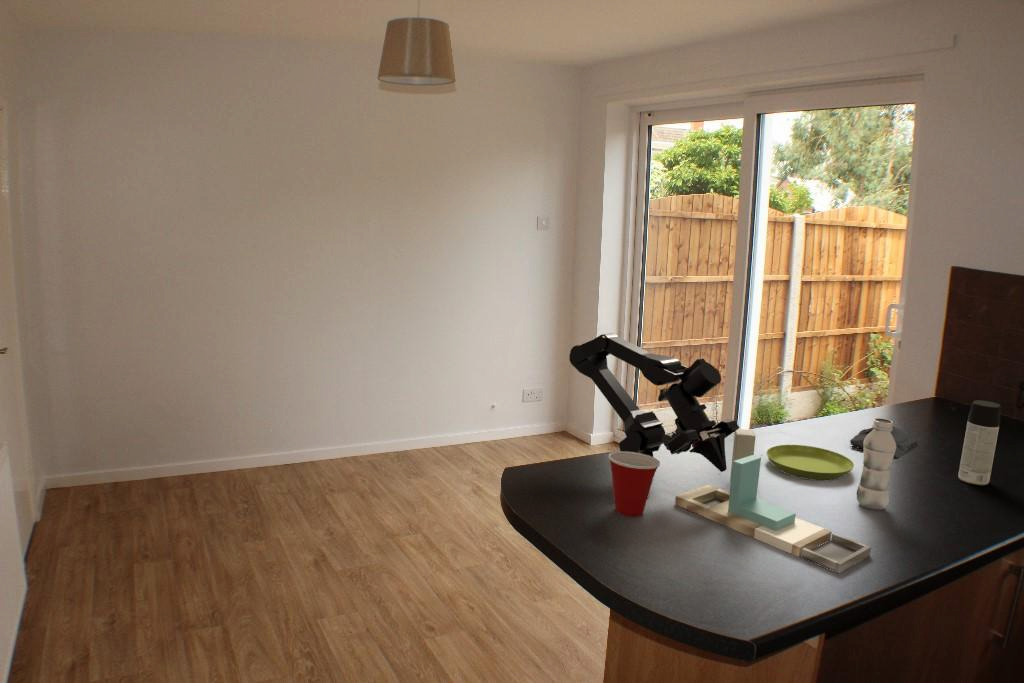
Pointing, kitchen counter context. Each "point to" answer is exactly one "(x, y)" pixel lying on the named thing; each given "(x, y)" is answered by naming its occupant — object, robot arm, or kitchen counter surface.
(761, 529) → the cream pad
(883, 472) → the plastic bottle
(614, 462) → the plastic cup
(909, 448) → the dark grey crumpled cloth
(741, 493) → the teal L-block
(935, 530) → the kitchen counter surface
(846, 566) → the birch board
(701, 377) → the robot arm
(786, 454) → the saucer
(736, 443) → the box
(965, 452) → the spray can
